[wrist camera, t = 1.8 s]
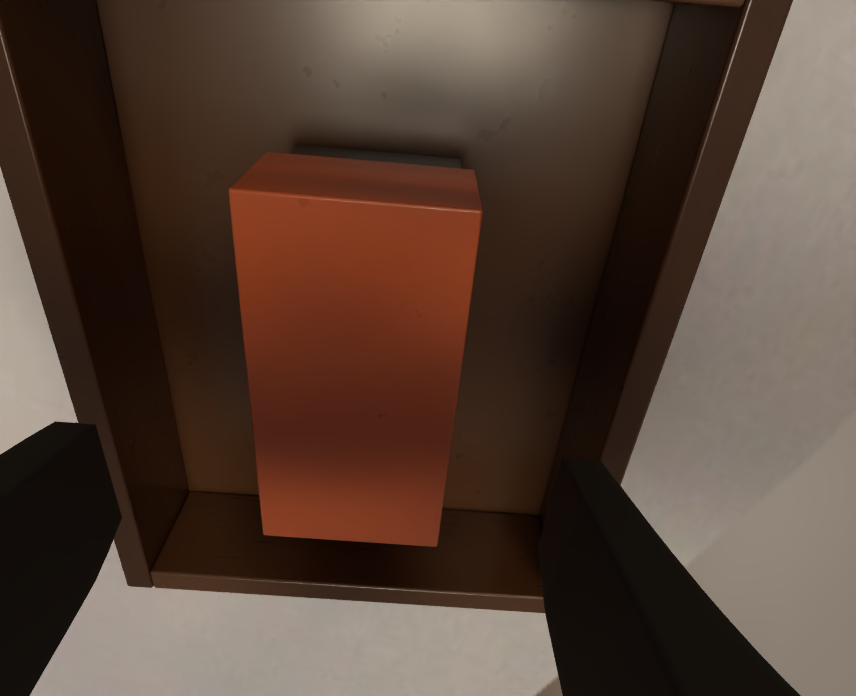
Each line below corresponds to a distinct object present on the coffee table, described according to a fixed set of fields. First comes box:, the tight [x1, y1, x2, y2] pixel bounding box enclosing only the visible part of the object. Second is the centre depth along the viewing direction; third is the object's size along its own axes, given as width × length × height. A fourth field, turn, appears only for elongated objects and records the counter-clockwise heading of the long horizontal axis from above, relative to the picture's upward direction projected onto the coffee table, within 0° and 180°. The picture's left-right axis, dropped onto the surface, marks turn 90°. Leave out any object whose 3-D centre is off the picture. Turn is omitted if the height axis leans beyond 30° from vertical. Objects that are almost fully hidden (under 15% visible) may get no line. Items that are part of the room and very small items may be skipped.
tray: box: [0, 0, 793, 613], centre depth 14 cm, size 12×15×4 cm
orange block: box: [228, 144, 483, 547], centre depth 13 cm, size 8×4×4 cm, turn 175°
